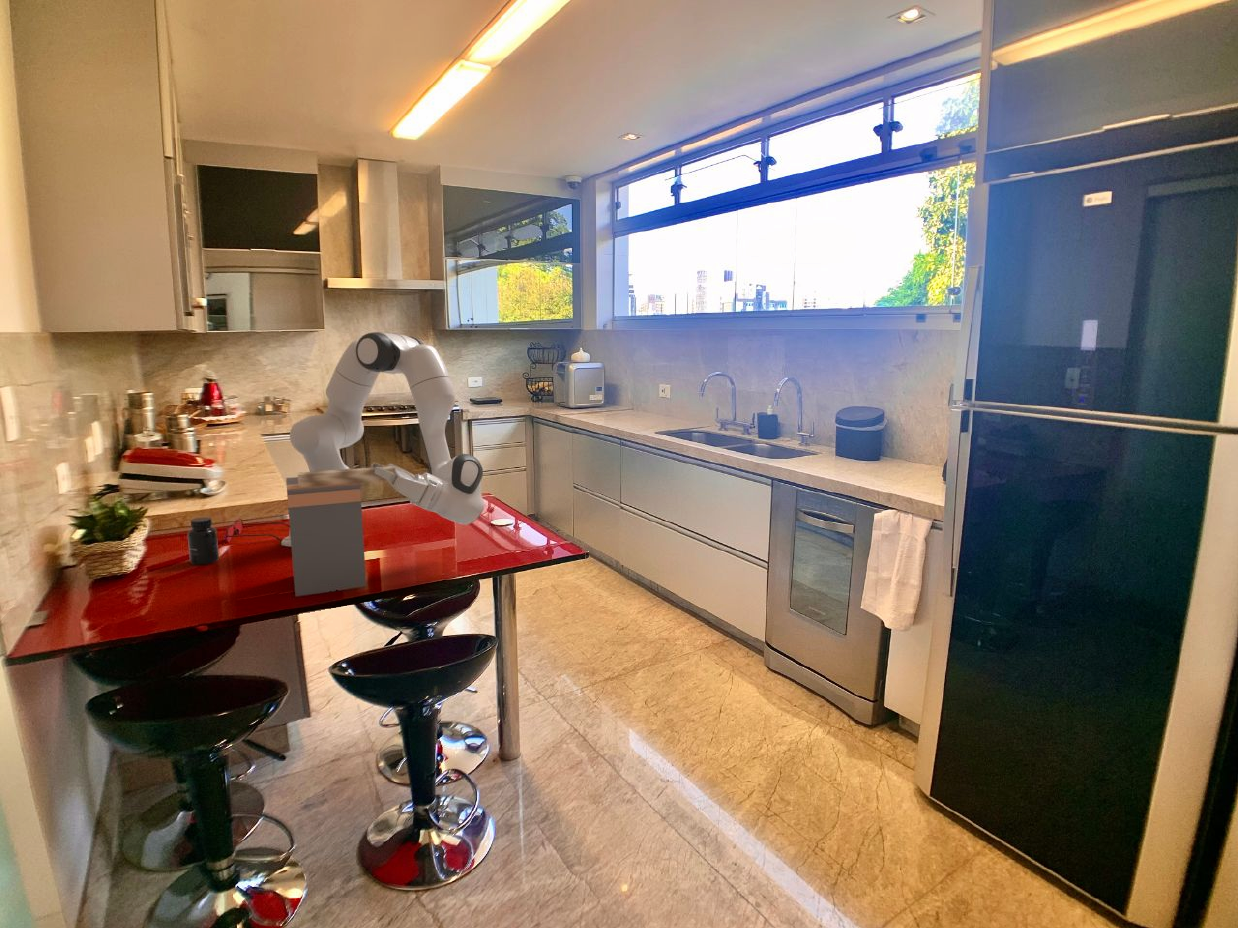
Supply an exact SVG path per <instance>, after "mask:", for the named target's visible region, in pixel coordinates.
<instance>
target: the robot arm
mask: <svg viewBox="0 0 1238 928" xmlns="http://www.w3.org/2000/svg"><path fill="white" fill-rule="evenodd" d="M380 373H382V374H383V373H384V374H391V375H395V374H396V375H397V374H403V375H404V376H405V378H406V380H407V383H408V386H409V390H410V393H411V395H412V398H413V402H414V405H415V410H416V414H417V420H418V427H419V431H420V436H421V441H422V444H423V448H424V453H425V456H426V460H427V465H428V471H429V473H428V472H426V471H425V472H423V473H422V474H419V473H416V474H413V473H411V472H409V471H408V470H406V469H405V468H402V467H399V466H397V465H395V464H393V463H388V465H387V466H394V468H395V472H394V473H395V474H394V473H392V472H389V471H386V470H384V469H382V468H380V467H385V466H386V465H383V464H380V463H377V462H372V464H371V466H370V468H371V467H376V468H375V470H374V473H375V474H377V475H379V476H381V477H382V478H384V479H386V481H387V482H388V483H389V484H390V486H391V487H392V488H393V489H394V490H395V491H396V492H397V493H399V494H401V495H403V496H404V497H406V498H408V499H409V502H410V504H411V505H414V506H417V507H419V508H421V509H423V510H426V511H428V512H433V513H435V514H437V515H439V516H440V517H441V518H444V519H446V520H448V521H451V522H454V523H456V524H461V525H465V526H467V525H470V524H472V523H474V522H475V521H476V520H478V519H479V517H480V516H481V514H483V513H482V512H483V510H484V509H485V501H484V498H483V496H482V479H483V475H484V469H483V466H482V464H481V462H480V461H479V459H478V458H477V457H475V456H473V455H471V454H468V453H462V454H458V455H456V456H454V457H452V458H451V455H450V450H449V447H448V443H447V439H446V438H447V437H446V432H445V431H446V425H447V422H448V419H449V417H450V414H451V412H452V411H453V409H454V406H455V403H456V396H455V395H456V393H455V388H454V384H453V382H452V379H451V377H450V374H449V370H448V369H447V367H446V365H445V363H444V360H443V359H442V357H441V355H440V353H439V352H438V350H437V349H436V348H435V347H434V346H432V345H430V344H425V343H424V342H423V341H422V340H419V339H418V338H415V337H414V336H409V335H404V334H399V333H387V332H380V331H376V332H369V333H365V334H364V335H362V336H361V337H360V338H357V339H354V340H353V341H352V342H350V344H349V345H348V346H347V348H346V349H345V351H343V354H342V356H341V357H340V358H339V361H338V362H337V365H336V367H335V369H334V371H333V373H332V375H331V377H330V378H329V379H330V380H329V381H328V384H327V386H326V389H325V395H326V397H327V399H328V404H327V408H326V409H325V411H324V412H323V413H322V414H317V415H310V416H306V417H304V418H303V419H300V420H299V421H297V422H295V423H294V424H293V425H292V427H291V429H290V432H289V440H290V443H291V445H292V447H293V448H294V450H296V451H297V452H298V453H299V454H301V455H302V456H303V459H304V461H305V463H306V464H307V467H308V469H309V471H308V472H314V471H328V470H342V469H351V468H350V467H349V466H348V465H346V464H345V463H344V461H343V459H342V457H341V453H340V450H341V449H344V448H348V447H351V446H352V445H353V444H356V443H357V442H358V441H360V440H361V439H362V437H363V435H364V432H365V428H364V426H365V425H364V423H363V421H362V416H363V415H362V414H363V410H364V406H365V404H366V402H367V400H368V398H369V396H370V395H371V394H370V393H371V391H372V389H373V387H374V385H375V383H376V381H377V378H378V377H379V375H380ZM288 534H289V535H288V536H286V537H284V538H283V539H282V541H280V542H281V544H280V545H281V546H285V547H288V548H289V547H291V535H290V531H289V533H288ZM291 548H292V547H291Z"/></svg>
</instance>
